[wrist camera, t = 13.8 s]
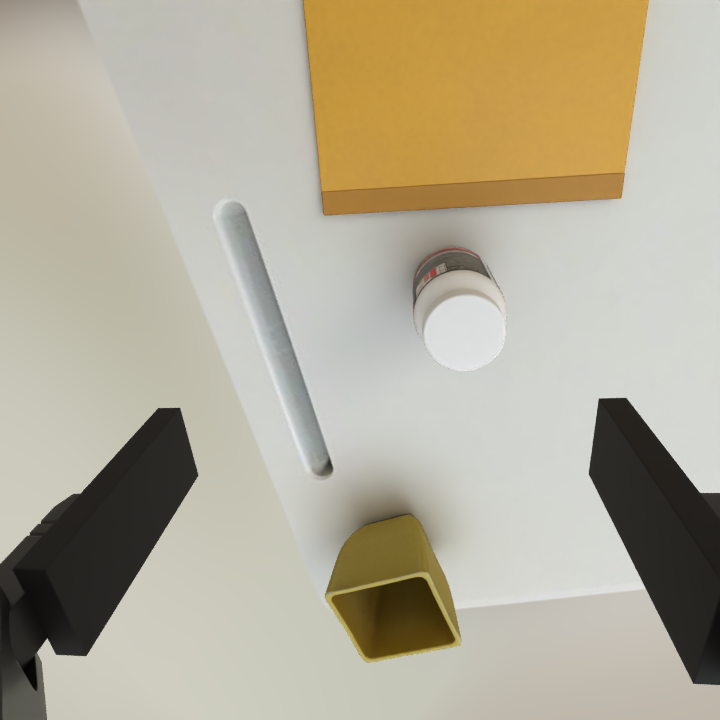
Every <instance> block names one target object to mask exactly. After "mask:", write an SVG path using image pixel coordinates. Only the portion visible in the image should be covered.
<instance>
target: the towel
mask: <svg viewBox="0 0 720 720" xmlns="http://www.w3.org/2000/svg"><path fill="white" fill-rule="evenodd" d="M648 2H649V0H303V3H304V13H305V24H306V34H307V44H308V55H309V65H310V75H311V86H312V96H313V107H314V117H315V127H316V138H317V148H318V158H319V169H320V179H321V190H322V202H323V213H324V215H340V214H357V213H375V212H392V211H409V210H427V209H444V208H462V207H479V206H496V205H514V204H531V203H549V202H566V201H584V200H601V199H618V198H621V196H622V189H623V182H624V175H625V173H624V172H625V164H626V157H627V150H628V143H629V136H630V129H631V122H632V115H633V108H634V101H635V94H636V87H637V79H638V72H639V65H640V58H641V51H642V44H643V37H644V30H645V23H646V16H647V9H648Z"/></svg>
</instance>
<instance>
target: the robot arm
mask: <svg viewBox="0 0 720 720" xmlns="http://www.w3.org/2000/svg"><path fill="white" fill-rule="evenodd" d="M589 475H590V477H591V479H592V481H593V483H594V485H595V487H596V489H597V491H598V493H599V495H600V497H601V499H602V501H603V503H604V505H605V507H606V509H607V511H608V513H609V515H610V517H611V519H612V521H613V523H614V525H615V527H616V529H617V531H618V533H619V535H620V537H621V539H622V541H623V543H624V545H625V547H626V549H627V551H628V553H629V556H630V558H631V560H632V562H633V564H634V566H635V568H636V570H637V572H638V574H639V576H640V578H641V580H642V582H643V584H644V586H645V588H646V590H647V592H648V594H649V596H650V598H651V600H652V601H653V604H654V606H655V608H656V610H657V612H658V614H659V616H660V618H661V620H662V622H663V624H664V626H665V628H666V630H667V632H668V634H669V636H670V637H671V640H672V641H673V644H674V646H675V648H676V650H677V652H678V654H679V656H680V658H681V660H682V662H683V664H684V666H685V668H686V670H687V672H688V673H689V676H690V677H691V679H692V682H693V684H711V685H720V493H700V492H699V491H698V490H697V489H696V487H695V486H694V485H693V483H692V482H691V481H690V480H689V478H688V477H687V476H686V474H685V473H684V472H683V470H682V469H681V468H680V467H679V465H678V464H677V463H676V461H675V460H674V459H673V458H672V456H671V455H670V454H669V452H668V451H667V450H666V449H665V447H664V446H663V445H662V443H661V442H660V441H659V440H658V438H657V437H656V436H655V434H654V433H653V432H652V430H651V429H650V428H649V427H648V425H647V424H646V423H645V421H644V420H643V419H642V418H641V416H640V415H639V414H638V412H637V411H636V410H635V409H634V407H633V406H632V405H631V403H630V402H629V401H628V400H627V398H603V399H599V402H598V409H597V417H596V424H595V432H594V439H593V446H592V454H591V461H590V469H589ZM197 477H198V473H197V468H196V465H195V461H194V458H193V454H192V450H191V446H190V443H189V439H188V435H187V432H186V428H185V424H184V421H183V417H182V413H181V410H180V408H158V409H157V410H156V412H155V413H154V414H153V415H152V416H151V417H150V418H149V419H148V420H147V421H146V422H145V423H144V425H143V426H142V427H141V428H140V429H139V430H138V431H137V432H136V433H135V434H134V436H133V437H132V438H131V439H130V440H129V441H128V442H127V443H126V444H125V446H124V447H123V448H122V449H121V450H120V451H119V452H118V453H117V454H116V455H115V457H114V458H113V459H112V460H111V461H110V462H109V463H108V464H107V465H106V466H105V467H104V469H103V470H102V471H101V472H100V473H99V474H98V475H97V476H96V477H95V478H94V479H93V481H92V482H91V483H90V484H89V485H88V486H87V487H86V488H85V489H84V490H83V492H82V493H81V494H73V495H71V496H70V497H68V498H67V499H66V500H64V501H62V502H61V503H59V504H58V505H56V506H55V507H54V508H53V509H52V510H51V511H50V512H49V513H48V514H47V515H46V516H45V517H44V519H43V520H42V521H41V524H38V525H37V526H36V527H35V528H34V529H33V530H32V531H31V532H30V535H29V536H27V537H26V538H25V539H24V540H23V541H22V542H21V543H20V544H19V545H18V546H17V547H16V548H15V549H14V550H13V552H11V554H9V556H8V557H7V558H6V559H5V560H4V561H3V562H2V563H1V564H0V720H47V715H46V705H45V694H44V683H43V672H42V662H41V660H40V658H39V656H38V654H37V652H38V650H39V648H40V647H41V646H42V645H43V643H44V642H45V640H46V639H47V638H48V640H49V642H50V644H51V646H52V648H53V649H54V651H55V653H56V655H73V656H87V654H88V653H89V651H90V649H91V648H92V646H93V644H94V643H95V641H96V639H97V638H98V636H99V635H100V633H101V632H102V630H103V628H104V627H105V625H106V623H107V622H108V620H109V619H110V617H111V615H112V614H113V612H114V611H115V609H116V607H117V605H118V604H119V603H120V601H121V599H122V597H123V596H124V594H125V593H126V591H127V590H128V588H129V586H130V585H131V583H132V582H133V580H134V578H135V577H136V575H137V574H138V572H139V570H140V569H141V567H142V566H143V564H144V562H145V561H146V559H147V557H148V556H149V554H150V553H151V551H152V549H153V548H154V546H155V545H156V543H157V541H158V540H159V538H160V536H161V535H162V533H163V532H164V530H165V528H166V527H167V525H168V524H169V522H170V520H171V519H172V517H173V515H174V514H175V512H176V511H177V509H178V507H179V506H180V504H181V502H182V501H183V499H184V498H185V496H186V495H187V493H188V491H189V490H190V488H191V487H192V485H193V483H194V482H195V480H196V478H197Z"/></svg>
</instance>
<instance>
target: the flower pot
mask: <svg viewBox="0 0 720 720" xmlns="http://www.w3.org/2000/svg"><path fill="white" fill-rule="evenodd" d="M325 599H326V601H327V602H328V604H329V606H330V607H331V609H332V610H333V612H334V613H335V615H336V616H337V618H338V619H339V621H340V622H341V624H342V625H343V627H344V628H345V630H346V632H347V633H348V635H349V637H350V639H351V641H352V642H353V644H354V646H355V648H356V649H357V651H358V653H359V655H360V656H361V657H362V659H363V660H364V661H365V662H367V663H369V662H377V661H381V660H386V659H392V658H397V657H402V656H408V655H413V654H418V653H424V652H429V651H434V650H440V649H446V648H451V647H455V646H460V645H461V636H460V632H459V627H458V622H457V617H456V613H455V608H454V604H453V599H452V595H451V591H450V588H449V585H448V582H447V580H446V577H445V575H444V573H443V571H442V569H441V567H440V565H439V563H438V561H437V559H436V556H435V554H434V552H433V550H432V548H431V546H430V544H429V542H428V539H427V537H426V535H425V533H424V530H423V528H422V526H421V524H420V523H419V521H418V520H417V519H416V518H415V517H414V516H413V515H410V514H407V515H403V516H399V517H395V518H392V519H388V520H384V521H380V522H376V523H372V524H368V525H365V526H363V527H362V528H360V529H359V530H357V531H356V532H355V533H354V534H353V535H351V536H350V537H349V539H348V540H347V541H346V542H345V544H344V545H343V547H342V548H341V550H340V552H339V555H338V557H337V560H336V563H335V566H334V569H333V572H332V575H331V579H330V581H329V585H328V588H327V591H326V593H325Z"/></svg>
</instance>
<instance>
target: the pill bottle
mask: <svg viewBox="0 0 720 720" xmlns="http://www.w3.org/2000/svg"><path fill="white" fill-rule="evenodd" d="M413 315H414V324H415V327H416V331H417V333H418V335H419V337H420V338H421V340H422V341H423V342H424V345H425V347H426V350H427V351H428V353H429V354H430V356H431V357H432V358H433V359H434V360H435V361H436V362H437V363H439V364H440V365H442V366H443V367H446V368H448V369H452V370H456V371H469V370H474V369H478V368H480V367H482V366H484V365H486V364H488V363H489V362H491V361H492V360H493V359H494V358H495V357H496V356H497V355H498V354H499V352H500V351H501V349H502V347H503V345H504V342H505V338H506V317H507V309H506V303H505V299H504V296H503V294H502V292H501V290H500V288H499V286H498V285H497V283H496V281H495V279H494V277H493V276H492V274H491V272H490V270H489V268H488V266H487V265H486V264H485V262H484V261H483V260H482V259H481V258H480V257H479V256H478V255H477V254H475V253H473V252H471V251H469V250H467V249H463V248H456V247H453V248H445V249H441V250H439V251H436V252H434V253H433V254H431V255H430V256H428V257H427V258H426V259H425V260H424V261H423V262H422V263H421V265H420V266H419V268H418V269H417V271H416V274H415V277H414V282H413Z"/></svg>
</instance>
